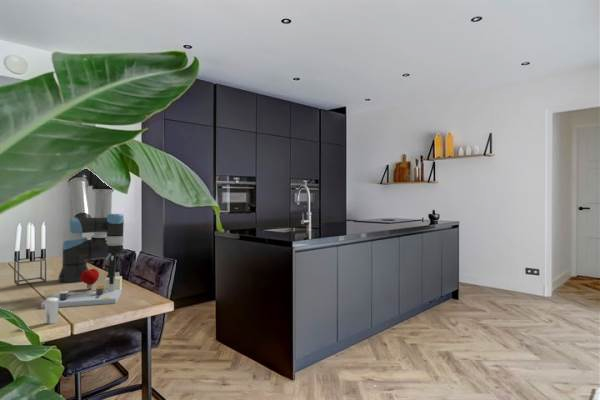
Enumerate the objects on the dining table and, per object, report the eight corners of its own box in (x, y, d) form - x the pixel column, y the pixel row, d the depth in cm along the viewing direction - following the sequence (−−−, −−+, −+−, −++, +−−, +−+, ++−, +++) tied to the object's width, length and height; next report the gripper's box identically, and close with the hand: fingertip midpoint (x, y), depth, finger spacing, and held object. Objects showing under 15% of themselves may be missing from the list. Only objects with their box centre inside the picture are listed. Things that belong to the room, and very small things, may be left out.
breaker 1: (61, 298, 157) (61, 291, 157) (68, 297, 158) (68, 290, 158) (59, 299, 155) (59, 292, 155) (66, 299, 155) (66, 292, 155)
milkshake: (55, 324, 130) (55, 297, 130) (40, 324, 131) (41, 297, 131) (64, 320, 135) (64, 294, 135) (50, 320, 135) (50, 293, 135)
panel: (53, 297, 165) (54, 293, 165) (121, 293, 175) (121, 289, 175) (40, 308, 149) (40, 303, 149) (115, 303, 159) (115, 298, 159)
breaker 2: (97, 293, 167) (97, 286, 167) (103, 292, 167) (103, 286, 167) (96, 294, 164) (96, 287, 164) (102, 294, 165) (102, 287, 165)
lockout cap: (107, 290, 180) (108, 276, 180) (121, 289, 182) (121, 276, 182) (105, 293, 174) (105, 279, 174) (119, 292, 176) (119, 278, 176)
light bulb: (88, 292, 176) (88, 271, 176) (76, 291, 178) (76, 271, 178) (102, 287, 186) (102, 268, 186) (90, 286, 187) (91, 267, 187)
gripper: (110, 242, 189) (109, 283, 188) (101, 247, 165) (100, 293, 165) (126, 242, 191) (125, 282, 191) (119, 246, 168) (118, 292, 167)
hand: (113, 287), depth 178 cm, fingers open, 13 cm apart
